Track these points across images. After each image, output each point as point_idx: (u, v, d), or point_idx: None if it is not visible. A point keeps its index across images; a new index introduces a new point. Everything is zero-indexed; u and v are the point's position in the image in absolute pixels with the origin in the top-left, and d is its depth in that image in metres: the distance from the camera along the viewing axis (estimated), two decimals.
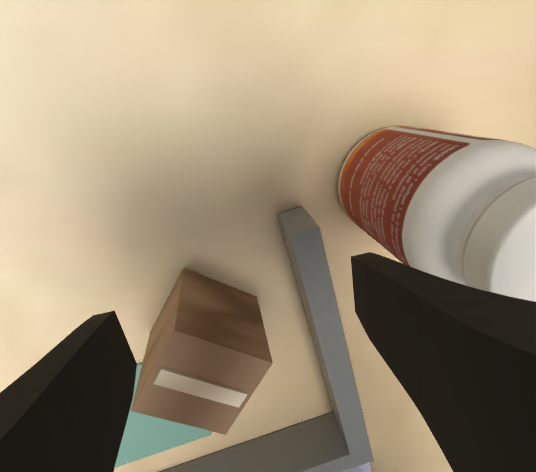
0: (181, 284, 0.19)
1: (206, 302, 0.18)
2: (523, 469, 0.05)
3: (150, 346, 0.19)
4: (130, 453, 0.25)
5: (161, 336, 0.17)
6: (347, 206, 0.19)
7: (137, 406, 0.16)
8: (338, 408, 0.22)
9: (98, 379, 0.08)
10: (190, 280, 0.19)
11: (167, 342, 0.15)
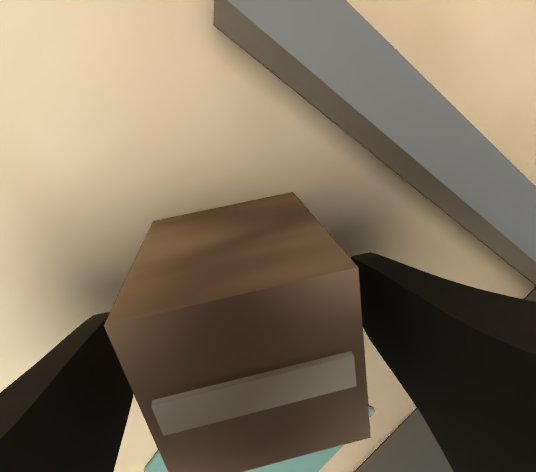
0: (144, 243, 0.10)
1: (192, 243, 0.09)
2: (523, 469, 0.05)
3: None
4: None
5: None
6: None
7: None
8: None
9: (97, 379, 0.08)
10: (162, 231, 0.11)
11: (119, 354, 0.07)
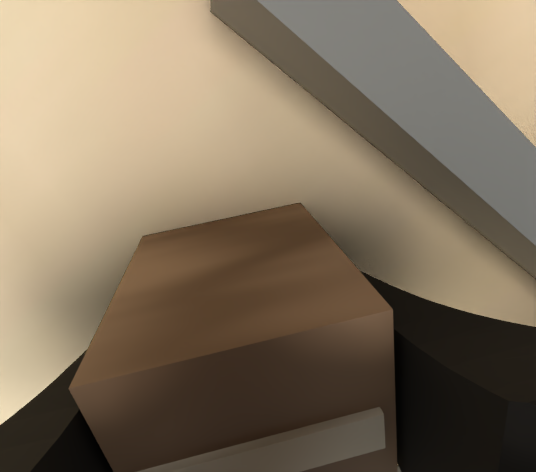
0: (130, 265, 0.09)
1: (185, 267, 0.08)
2: None
3: None
4: None
5: None
6: None
7: None
8: None
9: None
10: (151, 249, 0.09)
11: (90, 420, 0.05)
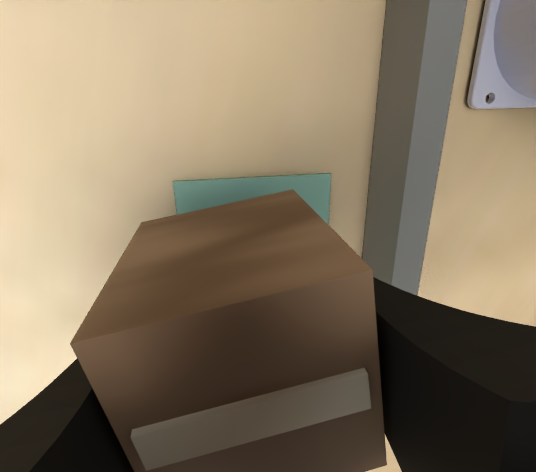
0: (129, 246, 0.09)
1: (181, 245, 0.08)
2: None
3: None
4: None
5: None
6: None
7: None
8: None
9: None
10: (149, 232, 0.10)
11: (90, 376, 0.06)
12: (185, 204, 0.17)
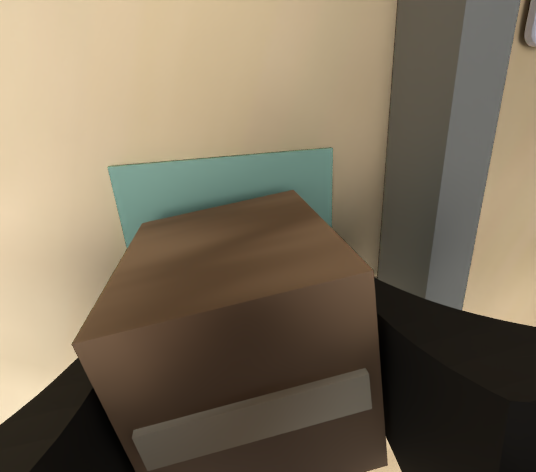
0: (130, 247, 0.09)
1: (182, 246, 0.08)
2: None
3: None
4: None
5: None
6: None
7: None
8: None
9: None
10: (150, 233, 0.10)
11: (92, 377, 0.06)
12: (129, 198, 0.12)
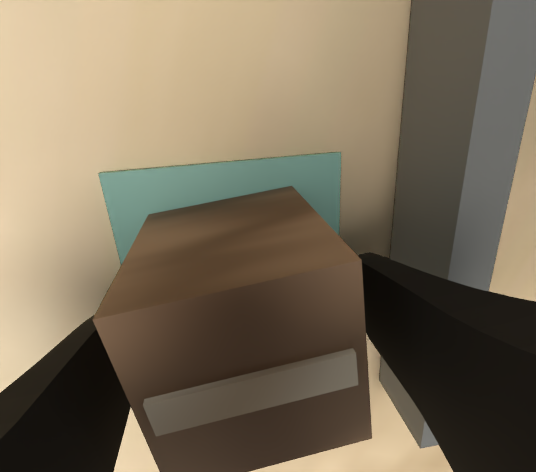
0: (138, 236, 0.10)
1: (187, 236, 0.09)
2: (523, 469, 0.05)
3: None
4: None
5: None
6: None
7: None
8: None
9: (98, 379, 0.08)
10: (157, 224, 0.10)
11: (109, 350, 0.06)
12: (122, 206, 0.11)
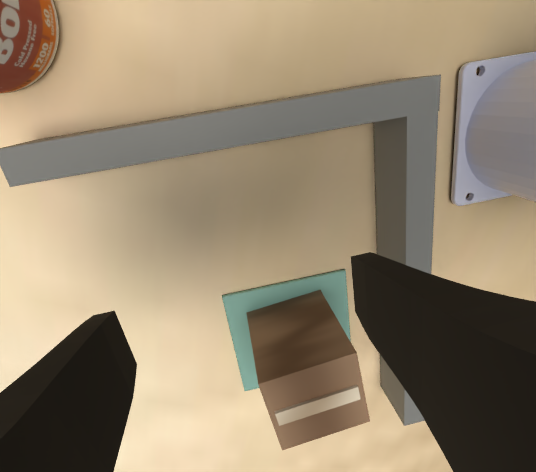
0: (250, 331, 0.20)
1: (276, 333, 0.19)
2: (523, 469, 0.05)
3: None
4: None
5: None
6: None
7: (284, 444, 0.18)
8: (307, 132, 0.15)
9: (97, 379, 0.08)
10: (255, 322, 0.21)
11: (262, 394, 0.17)
12: (233, 310, 0.22)
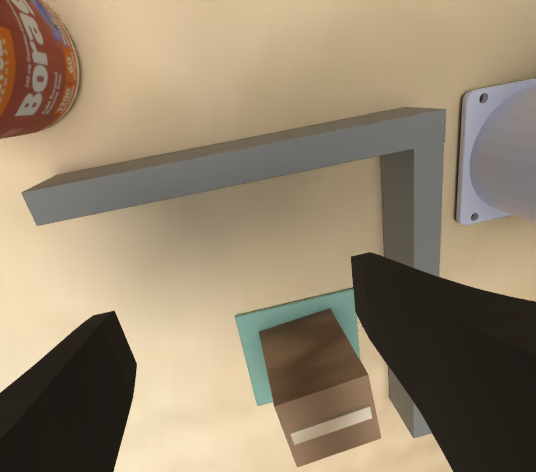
0: (263, 351, 0.21)
1: (289, 354, 0.20)
2: (523, 469, 0.05)
3: None
4: None
5: None
6: (24, 134, 0.15)
7: (298, 462, 0.19)
8: (318, 166, 0.16)
9: (98, 378, 0.08)
10: (268, 342, 0.21)
11: (278, 415, 0.17)
12: (246, 330, 0.22)
